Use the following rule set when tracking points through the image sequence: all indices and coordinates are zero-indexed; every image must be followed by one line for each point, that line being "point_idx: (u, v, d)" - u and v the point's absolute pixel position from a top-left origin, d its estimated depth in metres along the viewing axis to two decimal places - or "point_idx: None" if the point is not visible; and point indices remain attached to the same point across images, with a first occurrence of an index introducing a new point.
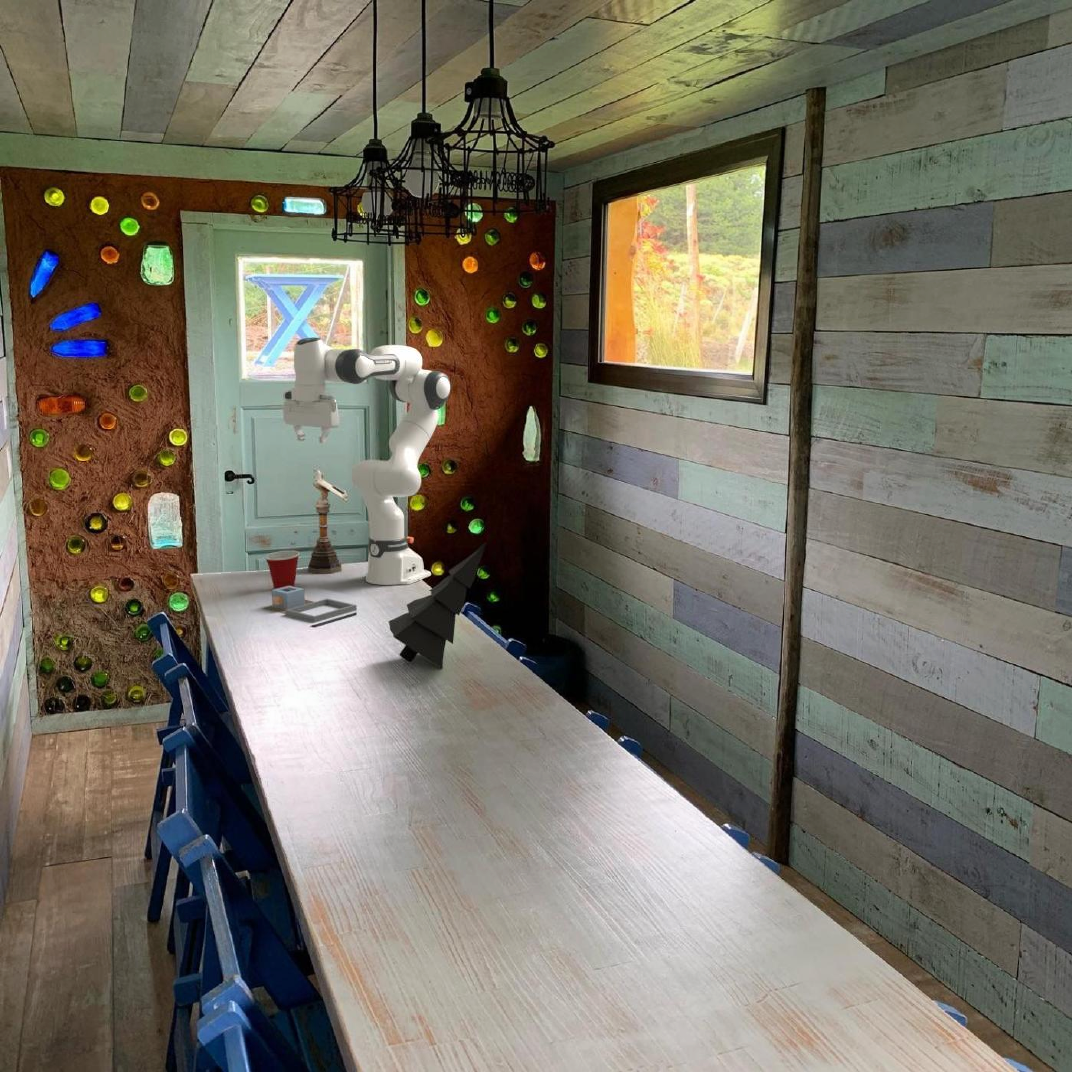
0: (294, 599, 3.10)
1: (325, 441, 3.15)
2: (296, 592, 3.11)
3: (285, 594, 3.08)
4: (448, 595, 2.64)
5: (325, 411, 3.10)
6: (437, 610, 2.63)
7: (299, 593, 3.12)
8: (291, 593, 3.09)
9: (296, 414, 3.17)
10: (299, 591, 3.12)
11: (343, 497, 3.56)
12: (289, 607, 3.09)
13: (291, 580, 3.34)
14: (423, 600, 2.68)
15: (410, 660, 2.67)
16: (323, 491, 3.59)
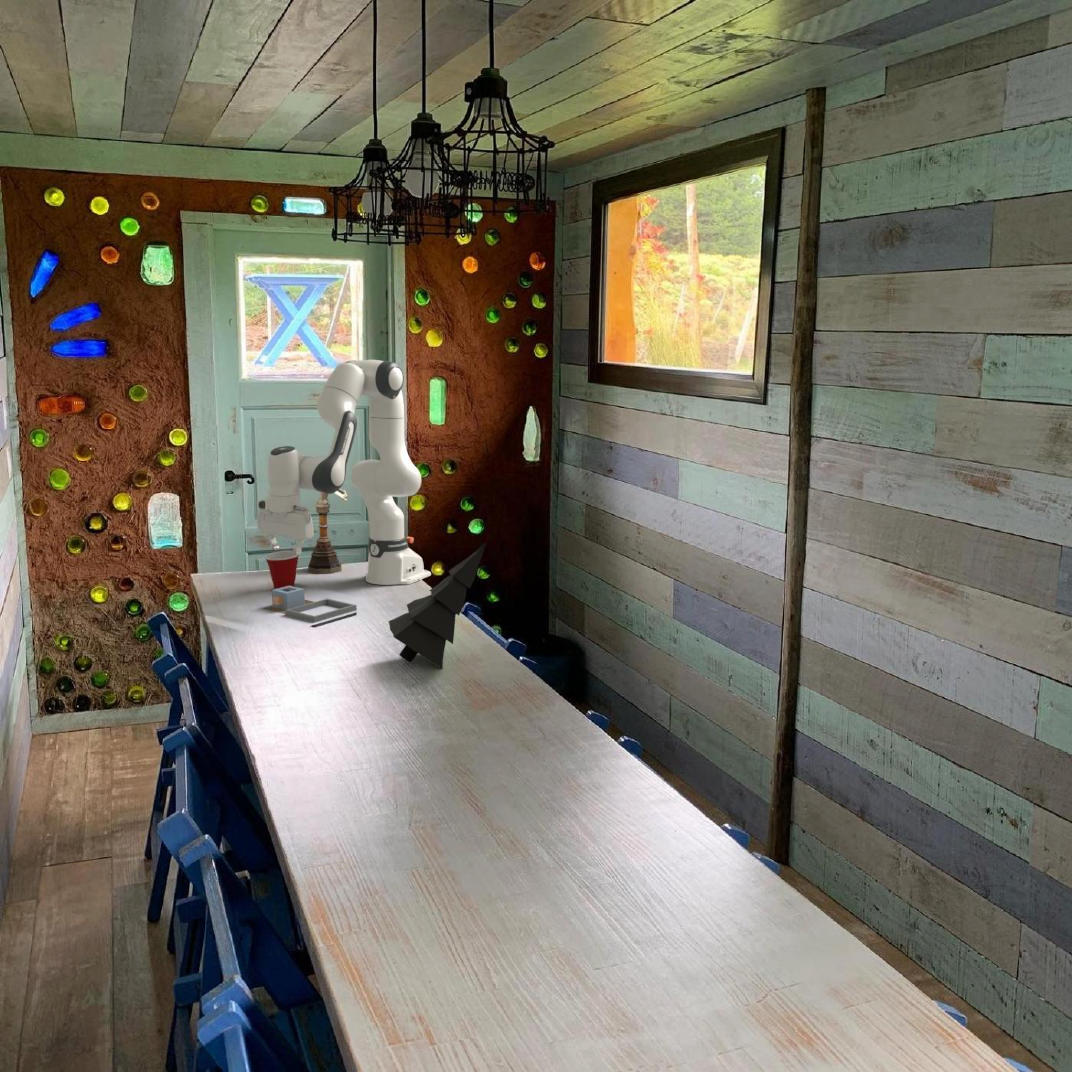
0: (294, 599, 3.10)
1: (299, 552, 3.07)
2: (296, 592, 3.11)
3: (285, 594, 3.08)
4: (448, 595, 2.64)
5: (299, 523, 3.02)
6: (437, 610, 2.63)
7: (299, 593, 3.12)
8: (291, 593, 3.09)
9: (270, 523, 3.10)
10: (299, 591, 3.12)
11: (343, 497, 3.56)
12: (289, 607, 3.09)
13: (291, 580, 3.34)
14: (423, 600, 2.68)
15: (410, 660, 2.67)
16: None
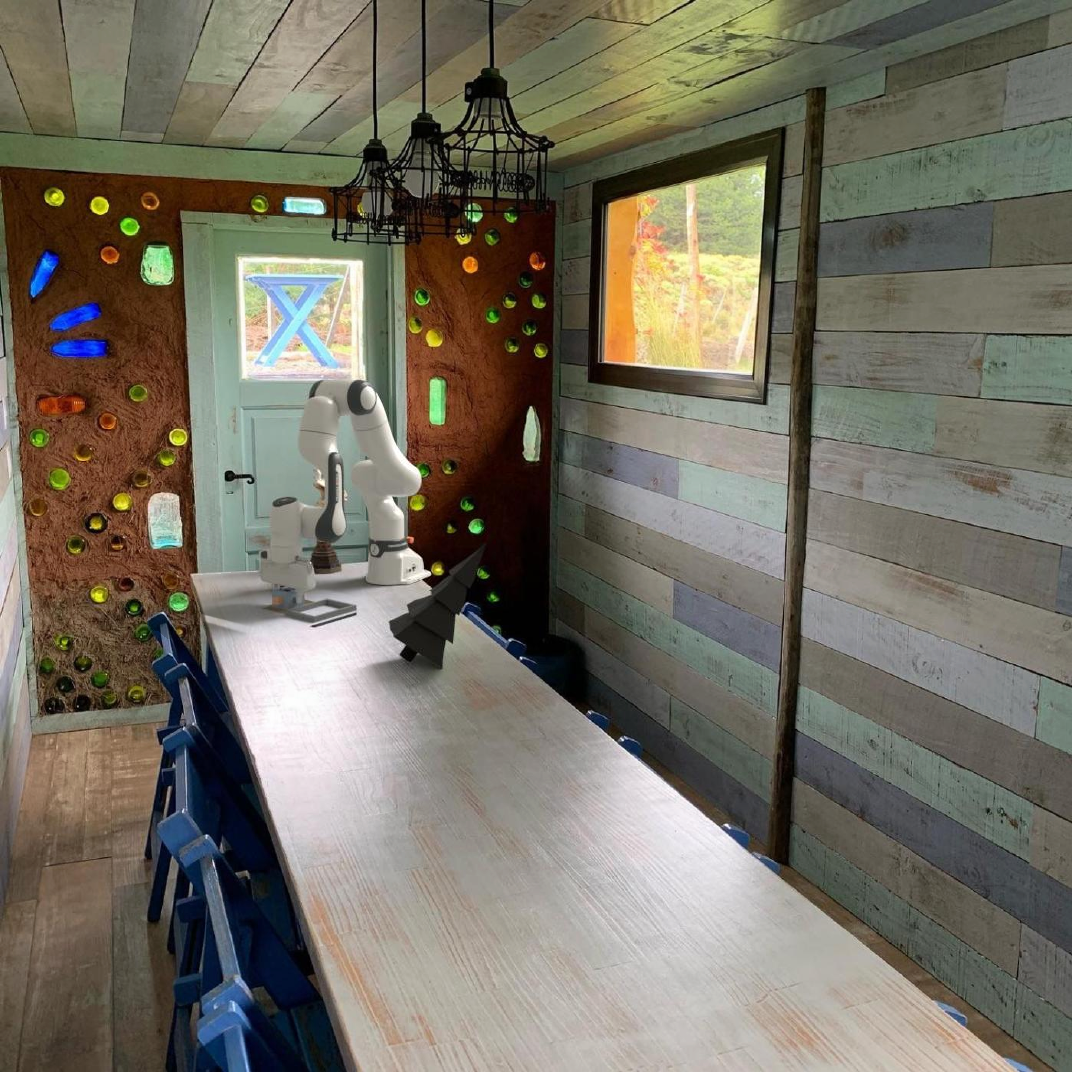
0: None
1: (300, 601, 3.10)
2: (296, 592, 3.11)
3: (285, 594, 3.08)
4: (448, 595, 2.64)
5: (301, 574, 3.05)
6: (437, 610, 2.63)
7: None
8: (291, 593, 3.09)
9: (272, 573, 3.13)
10: None
11: None
12: (289, 607, 3.09)
13: None
14: (424, 600, 2.68)
15: (410, 660, 2.67)
16: (323, 491, 3.59)
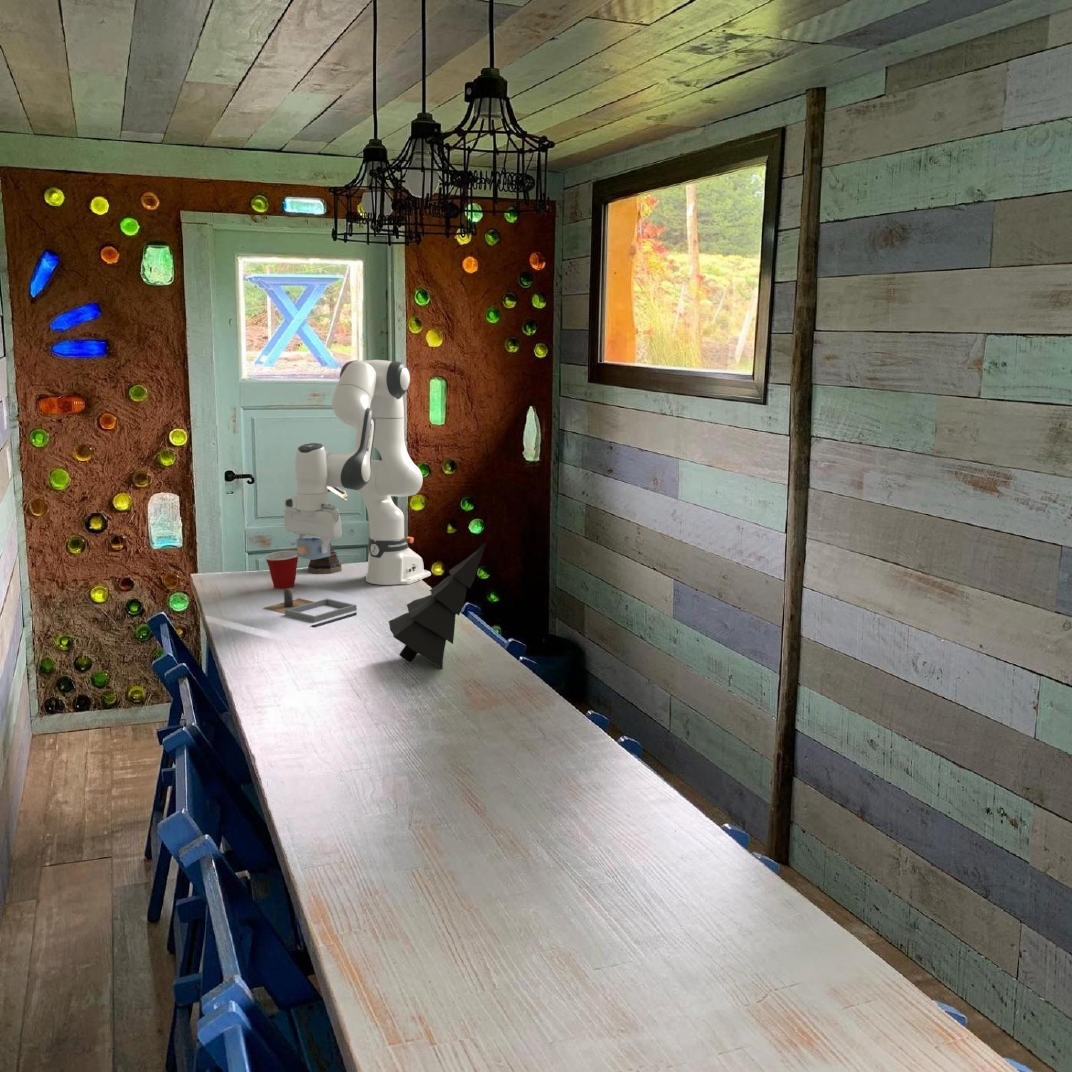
0: None
1: (325, 551, 3.02)
2: (321, 541, 3.02)
3: (310, 543, 3.00)
4: (448, 595, 2.64)
5: (327, 522, 2.96)
6: (437, 610, 2.63)
7: None
8: (316, 542, 3.01)
9: (297, 522, 3.04)
10: None
11: (343, 497, 3.56)
12: (314, 557, 3.01)
13: (291, 580, 3.34)
14: (423, 600, 2.68)
15: (410, 660, 2.67)
16: None
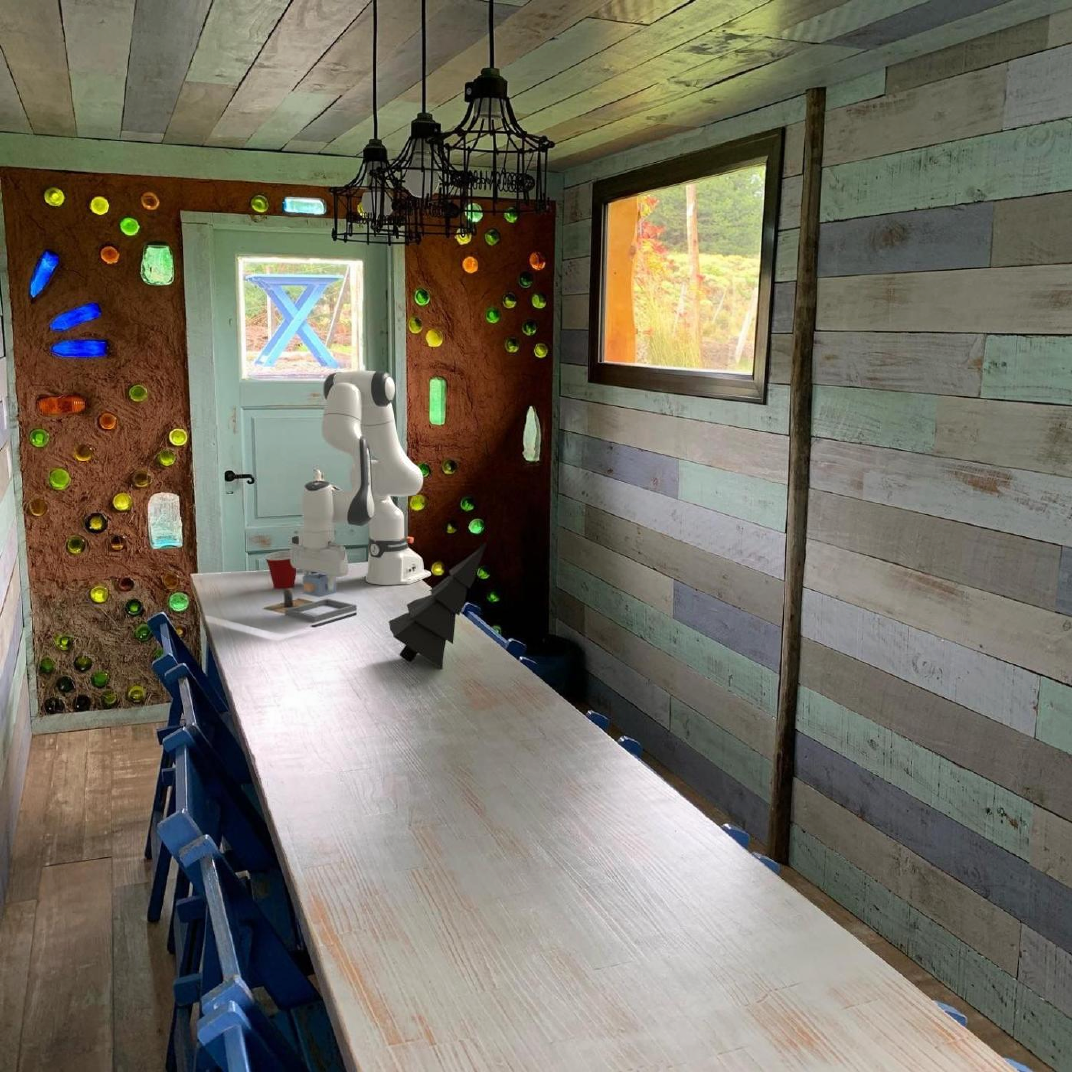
0: None
1: (332, 588, 3.03)
2: None
3: (317, 580, 3.01)
4: (448, 595, 2.64)
5: (334, 560, 2.98)
6: (437, 610, 2.63)
7: None
8: (323, 579, 3.02)
9: (304, 558, 3.05)
10: None
11: None
12: (321, 594, 3.02)
13: (291, 580, 3.34)
14: (424, 600, 2.68)
15: (410, 660, 2.67)
16: None
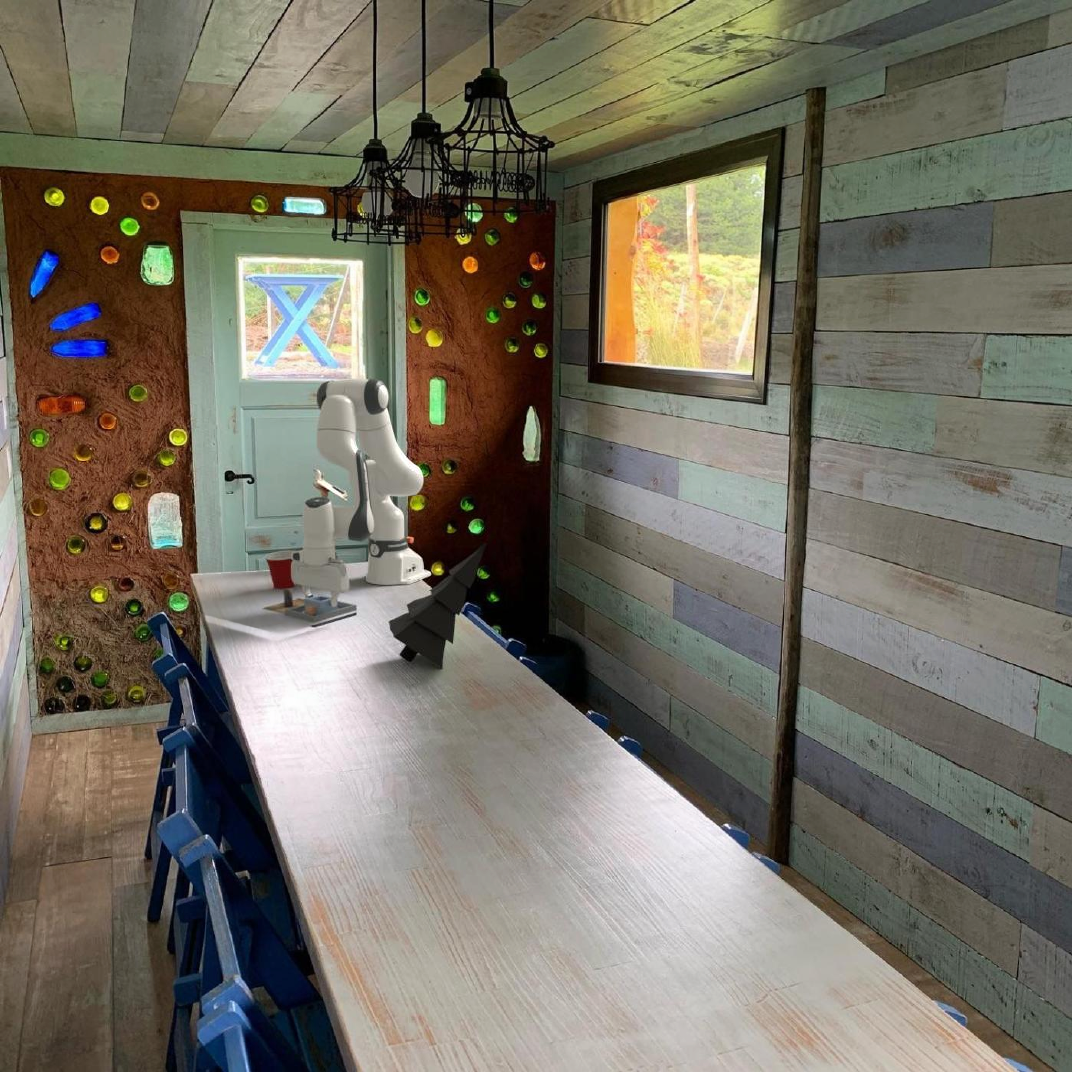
0: (327, 608, 3.04)
1: (334, 604, 3.04)
2: None
3: (318, 603, 3.02)
4: (448, 595, 2.64)
5: (335, 576, 2.99)
6: (437, 610, 2.63)
7: None
8: (324, 602, 3.03)
9: (305, 575, 3.06)
10: None
11: (343, 497, 3.56)
12: None
13: (291, 580, 3.34)
14: (424, 600, 2.68)
15: (410, 660, 2.67)
16: (323, 491, 3.59)
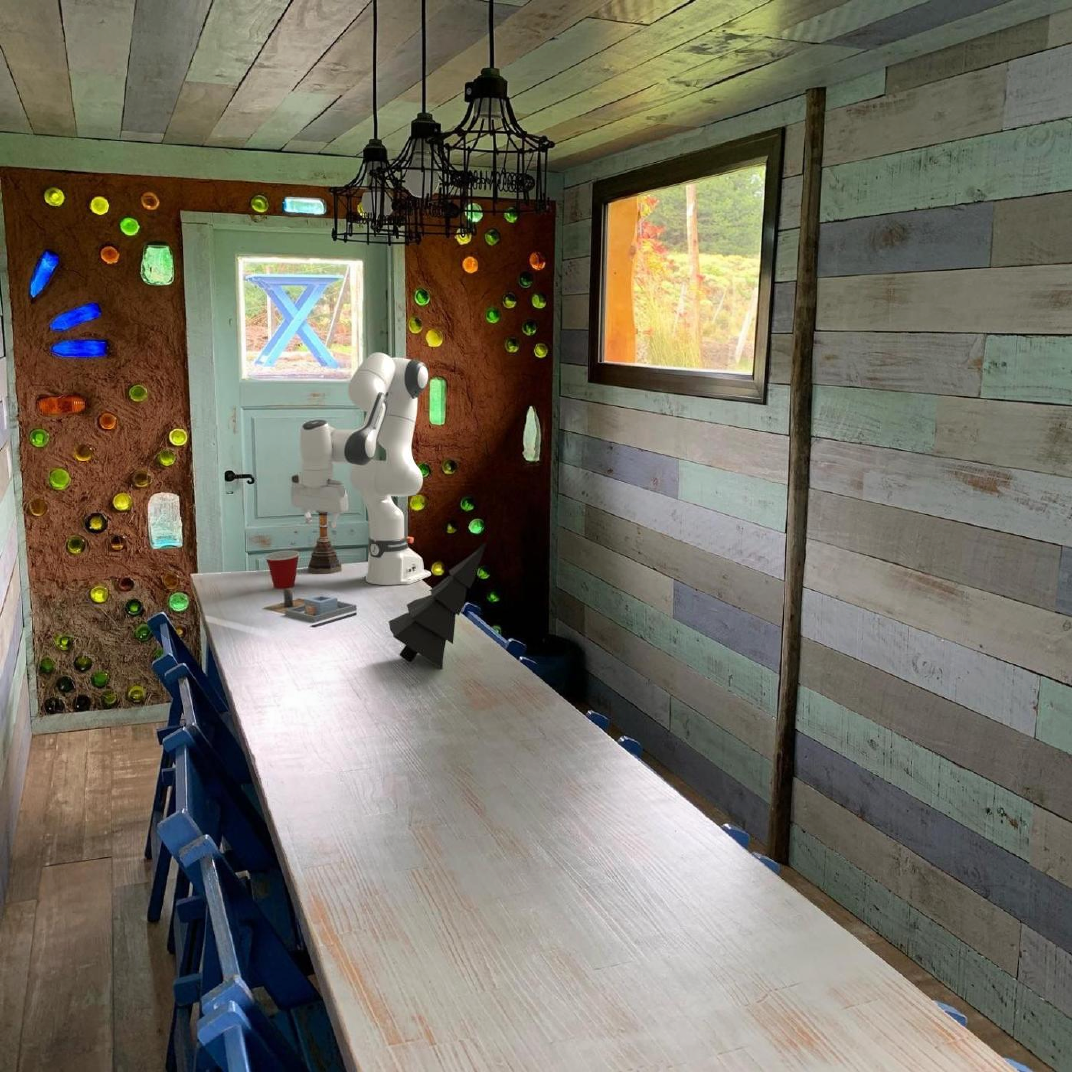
0: (327, 608, 3.04)
1: (334, 525, 3.08)
2: (329, 601, 3.05)
3: (318, 603, 3.02)
4: (448, 595, 2.64)
5: (334, 497, 3.03)
6: (437, 610, 2.63)
7: (332, 602, 3.06)
8: (324, 602, 3.03)
9: (304, 497, 3.10)
10: (332, 600, 3.06)
11: None
12: None
13: (291, 580, 3.34)
14: (423, 600, 2.68)
15: (410, 660, 2.67)
16: None
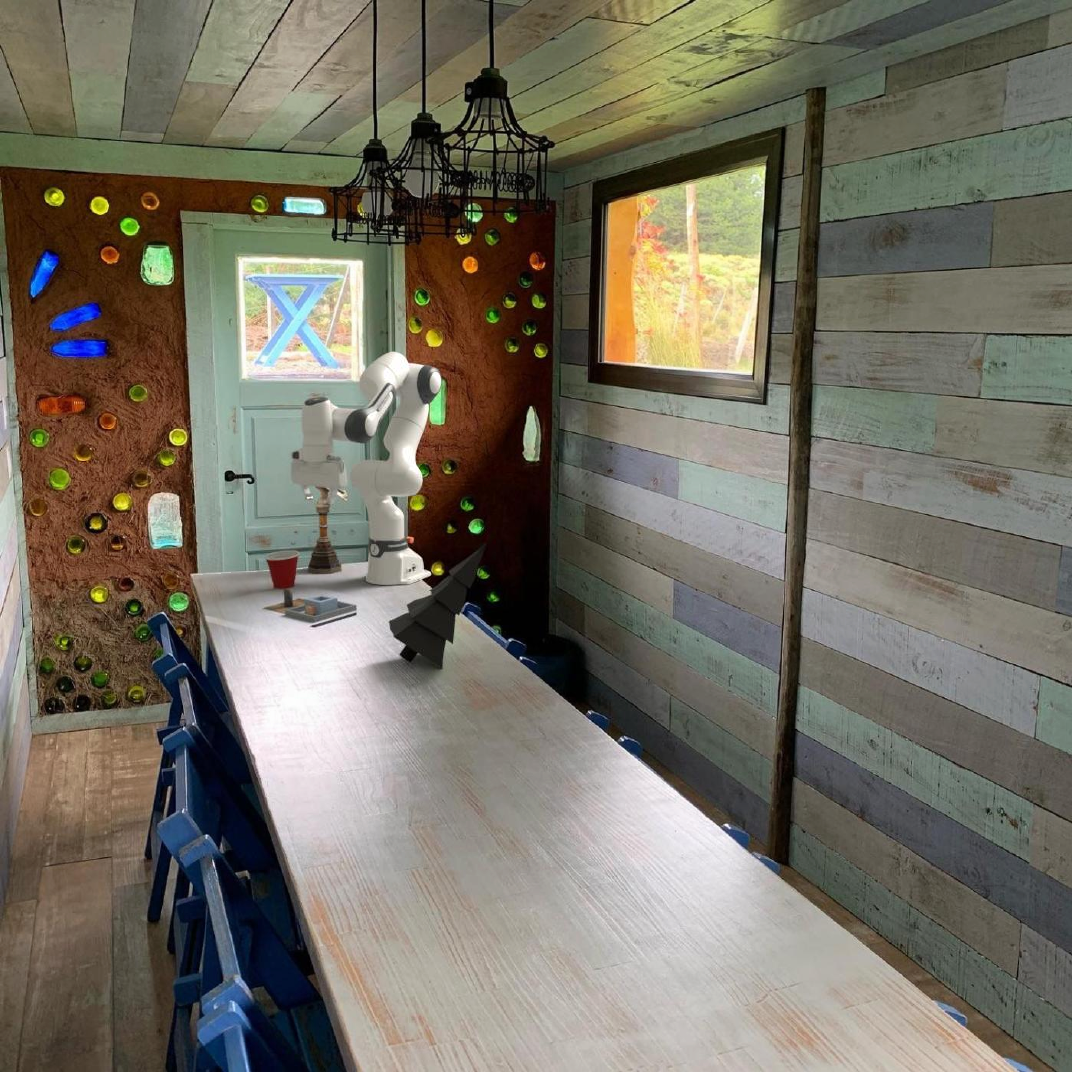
0: (327, 608, 3.04)
1: (333, 501, 3.12)
2: (329, 601, 3.05)
3: (318, 603, 3.02)
4: (448, 595, 2.64)
5: (333, 472, 3.07)
6: (437, 610, 2.63)
7: (332, 602, 3.06)
8: (324, 602, 3.03)
9: (304, 473, 3.14)
10: (332, 600, 3.06)
11: (343, 497, 3.56)
12: None
13: (291, 580, 3.34)
14: (424, 600, 2.68)
15: (410, 660, 2.67)
16: (323, 491, 3.59)
